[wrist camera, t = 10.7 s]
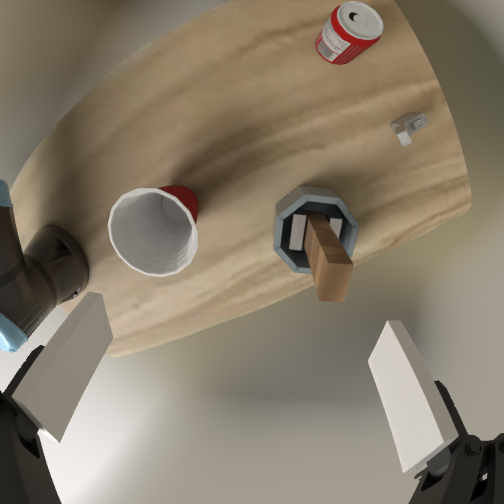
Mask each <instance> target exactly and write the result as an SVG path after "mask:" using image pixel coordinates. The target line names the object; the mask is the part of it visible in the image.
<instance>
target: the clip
mask: <svg viewBox="0 0 504 504" xmlns="http://www.w3.org/2000/svg"><path fill="white" fill-rule="evenodd" d="M324 217H325V218H326V220H327V221H328V223H329V224H330V226H331V228H332V229H333V231H334V233H335V234H336V236H337V237H338V239H339V235H340V230H341V224H342V218H341V217H340V216H339V214H338V213H337V212H336V211H335V210H327V209H325V210H324ZM305 221H306V214H305V212H304V209H303V207H299V208H298V209H296V210H295V211H294V212H292V213H291V214H290V218H289V227H288V235H287V240H288V246H289V249H293V250H301V248H302V241H303V235H304V228H305Z"/></svg>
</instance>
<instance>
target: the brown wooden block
mask: <svg viewBox="0 0 504 504" xmlns="http://www.w3.org/2000/svg"><path fill="white" fill-rule="evenodd" d="M304 212H305V214H306V221H305V228H304V235H303V244H304V248H305V251H306V254H307V258H308V261H309V265H310V268H311V272H312V275H313V279H314V282H315V286H316V289H317V293H318V297H319V300H320V301H331V302H334V301H335V302H344V299H345V296H346V292H347V288H348V284H349V281H350V277H351V273H352V269H353V263H352V261H351V259H350V258H349V256H348V254H347V253H346V251H345V249H344V247H343V246H342V244H341V242H340V241H339V239H338V237H337V236H336V234H335V233H334V231H333V229H332V228H331V226H330V224H329V223H328V221H327V220H326V218H325V217H324V215H323V213H322V212H321V211H312V210H305V211H304Z"/></svg>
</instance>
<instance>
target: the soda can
mask: <svg viewBox="0 0 504 504" xmlns="http://www.w3.org/2000/svg"><path fill="white" fill-rule="evenodd" d="M383 27H384V25H383V21H382V19H381V17H380V16H379V14H378V13H377V11H375V10H374V9H372V8H371V7H370V6H368V5H367V4H365V3H362V2H358V1H349V2H345V3H344V4H342V5H340V6H338V7H337V8H335V9H334V11H333V12H332V14H331V15H330V17H329V19H328V20H327V22H326V24H325V25H324V27H323V29H322V31H321V32H320V34H319V36H318V37H317V39H316V49H317V51H318V53H319V54H320V55H321V56H322V58H323V59H324V60H326V61H328V62H330V63H332V64H338V65H342V64H346V63H349V62H350V61H351V60H353V59H354V58H355V57H357V56H358V55H359V54H361V53H362V52H363V51H365V50H366V49H368V48H369V47H370V46H372V45H373V44H375V43H376V42H377V41H378V40H379V38H380V36H381V34H382V32H383Z"/></svg>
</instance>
